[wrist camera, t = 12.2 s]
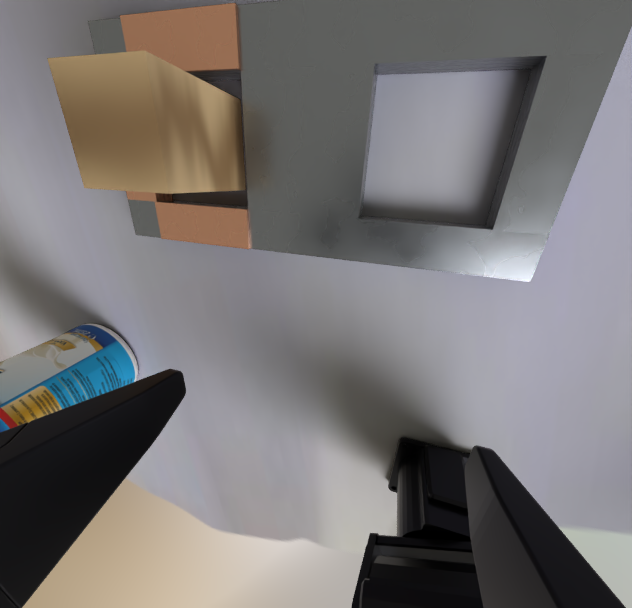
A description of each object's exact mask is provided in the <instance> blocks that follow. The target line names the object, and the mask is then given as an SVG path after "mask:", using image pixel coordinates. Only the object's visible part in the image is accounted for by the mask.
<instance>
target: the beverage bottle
mask: <svg viewBox="0 0 632 608" xmlns="http://www.w3.org/2000/svg"><path fill="white" fill-rule="evenodd" d="M137 376H138V365H137V361H136V358H135V356H134V354H133V352H132V350H131V349H130V347H129V346H128V345H127V344H126V342H125V341H124V340H123V339H122V338H121V337H120V336H119V335H117V334H116V333H115V332H113V331H112V330H110V329H108V328H106V327H104V326H101V325H98V324H83V325H80V326H78V327H76V328H74V329H71V330H70V331H68V332H66V333H64V334H62V335H60V336H58V337H56V338H54V339H52V340H50V341H47V342H45V343H43V344H41V345H38V346H36V347H34V348H31V349H29V350H27V351H25V352H22V353H20V354H18V355H16V356H13V357H11V358H9V359H6V360H4V361H2V362H0V432H3V431H5V430H8V429H11V428H13V427H16V426H19V425H21V424H24V423H29V422H30V421H32V420H35V419H37V418H40V417H43V416H45V415H48V414H51V413H53V412H56V411H59V410H61V409H64V408H67V407H69V406H72V405H75V404H77V403H80V402H83V401H85V400H88V399H91V398H93V397H96V396H99V395H101V394H104V393H107V392H109V391H112V390H115V389H117V388H120V387H123V386H125V385H128V384H131V383H133V382H135V381H136V379H137Z"/></svg>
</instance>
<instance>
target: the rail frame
mask: <svg viewBox="0 0 632 608" xmlns="http://www.w3.org/2000/svg"><path fill="white" fill-rule="evenodd" d="M88 23H89V28H90V32H91V37H92V41H93V46H94V50H95V54H108V53H121V52H133V51H147V52H149V53H151V54H153V55H155V56H157V57H158V58H160V59H162V60H164V61H166V62H168V63H170V64H172V65H174V66H176V67H178V68H180V69H182V70H184V71H186V72H187V73H189V74H191V75H193V76H195V77H197V78H199V79H201V80H203V81H222V80H241V84H242V103H243V122H244V141H245V159H246V178H247V197H248V207H246V206H234V205H222V204H209V203H197V202H185V201H173V199H172V194H166V193H151V192H136V191H126V193H127V197H128V202H129V206H130V211H131V215H132V220H133V224H134V229H135V233H136V235H142V236H150V237H158V238H161V239H169V240H177V241H186V242H194V243H202V244H210V245H219V246H227V247H235V248H244V249H259V250H267V251H275V252H284V253H292V254H300V255H309V256H317V257H325V258H334V259H342V260H350V261H359V262H367V263H375V264H384V265H392V266H401V267H409V268H417V269H426V270H434V271H442V272H451V273H459V274H467V275H476V276H484V277H492V278H501V279H509V280H517V281H526V282H530V281H531V279H532V276H533V274H534V271H535V269H536V266H537V264H538V261H539V259H540V256H541V254H542V251H543V249H544V246H545V244H546V241H547V239H548V236H549V234H550V231H551V228H552V226H553V223H554V221H555V218H556V216H557V213H558V211H559V208H560V206H561V203H562V201H563V198H564V196H565V193H566V191H567V188H568V186H569V183H570V181H571V178H572V175H573V173H574V170H575V168H576V165H577V163H578V160H579V158H580V155H581V153H582V150H583V148H584V145H585V143H586V140H587V138H588V135H589V133H590V130H591V128H592V125H593V122H594V120H595V117H596V115H597V112H598V110H599V107H600V105H601V102H602V100H603V97H604V95H605V92H606V90H607V87H608V85H609V82H610V80H611V77H612V75H613V72H614V69H615V67H616V64H617V62H618V59H619V57H620V54H621V52H622V49H623V47H624V44H625V42H626V39H627V37H628V34H629V32H630V29H631V27H632V0H282V1H272V2H263V3H254V4H244V5H237V4H236V3H230V4H220V5H211V6H202V7H193V8H184V9H175V10H166V11H157V12H148V13H138V14H129V15H120V18H114V19H105V20H95V21H88ZM519 69H532V70H531V73H530V77H529V80H528V83H527V87H526V90H525V93H524V97H523V100H522V104H521V107H520V110H519V114H518V117H517V120H516V124H515V127H514V131H513V134H512V137H511V141H510V144H509V147H508V151H507V154H506V158H505V161H504V164H503V168H502V171H501V174H500V178H499V181H498V185H497V188H496V191H495V195H494V198H493V201H492V205H491V208H490V211H489V215H488V218H487V222H486V225H485V226H481V225H468V224H456V223H444V222H431V221H419V220H407V219H394V218H382V217H370V216H361V215H362V206H363V197H364V188H365V179H366V170H367V161H368V152H369V143H370V134H371V126H372V117H373V108H374V99H375V90H376V81H377V75H384V74H411V73H438V72H465V71H492V70H519Z"/></svg>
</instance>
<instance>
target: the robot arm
mask: <svg viewBox="0 0 632 608" xmlns="http://www.w3.org/2000/svg"><path fill="white" fill-rule="evenodd" d="M185 393H186V387H185V382H184V377H183V373H182V372H181V371H178V370H174V369H168V370H165V371H162V372H160V373H157V374H155V375H152V376H149V377H147V378H144V379H141V380H139V381H136V382H133V383H131V384H128V385H125V386H123V387H120V388H117V389H115V390H112V391H109V392H107V393H104V394H101V395H99V396H96V397H93V398H91V399H88V400H85V401H83V402H80V403H77V404H75V405H72V406H69V407H67V408H64V409H61V410H59V411H56V412H53V413H51V414H48V415H45V416H43V417H40V418H37V419H35V420H32V421H30V422H29V423H24V424H21V425H19V426H16V427H13V428H11V429H8V430H5V431H3V432H0V608H22V607H23V606H24V605H25V603H26V602H27V601H28V599H29V598H30V597H31V596H32V595H33V593H34V592H35V591H36V590H37V588H38V587H39V586H40V584H41V583H42V582H43V581H44V579H45V578H46V577H47V575H48V574H49V573H50V572H51V571H52V569H53V568H54V567H55V566H56V564H57V563H58V562H59V560H60V559H61V558H62V557H63V555H64V554H65V553H66V552H67V551H68V549H69V548H70V547H71V546H72V544H73V543H74V542H75V541H76V539H77V538H78V537H79V535H80V534H81V533H82V532H83V530H84V529H85V528H86V527H87V525H88V524H89V523H90V522H91V520H92V519H93V518H94V517H95V515H96V514H97V513H98V512H99V510H100V509H101V508H102V506H103V505H104V504H105V503H106V502H107V500H108V499H109V498H110V496H111V495H112V494H113V493H114V491H115V490H116V489H117V488H118V486H119V485H120V484H121V483H122V481H123V480H124V479H125V478H126V476H127V475H128V474H129V473H130V471H131V470H132V469H133V468H134V466H135V465H136V464H137V463H138V461H139V460H140V459H141V458H142V456H143V455H144V454H145V453H146V451H147V450H148V449H149V448H150V446H151V445H152V444H153V442H154V441H155V440H156V438H157V437H158V436H159V434H160V433H161V431H162V430H163V428H164V427H165V425H166V424H167V422H168V421H169V419H170V418H171V416H172V415H173V413H174V412H175V410H176V409H177V407H178V406H179V404H180V403H181V401H182V400H183V398H184V396H185ZM388 488H389V489H390V490H391V491H393V492H396V493H397V536H385V535H378V533H370V536H369V540H368V544H367V546H366V549H365V553H364V557H363V562H362V565H361V570H360V574H359V578H358V581H357V586H356V590H355V594H354V598H353V602H352V608H626V607H625V606H624V605H623V604H622V603H621V601H620V600H619V599H618V598H617V597H616V596H615V594H614V593H613V592H612V591H611V589H610V588H609V587H608V586H607V585H606V584H605V582H604V581H603V580H602V579H601V578H600V576H599V575H598V574H597V573H596V572H595V570H593V568H592V567H591V566H590V564H589V563H588V562H587V561H586V560H585V559H584V557H583V556H582V555H581V554H580V553H579V551H578V550H577V549H576V548H575V547H574V545H573V544H572V543H571V542H570V541H569V540H568V538H567V537H566V536H565V535H564V534H563V532H562V531H561V530H560V529H559V528H558V526H557V525H556V524H555V523H554V522H553V520H552V519H551V518H550V517H549V516H548V515H547V513H546V512H545V511H544V510H543V509H542V507H541V506H540V505H539V504H538V503H537V501H536V500H535V499H534V498H533V497H532V495H531V494H530V493H529V492H528V491H527V490H526V488H525V487H524V486H523V485H522V484H521V482H520V481H519V480H518V479H517V478H516V476H515V475H514V474H513V473H512V472H511V471H510V469H509V468H508V467H507V466H506V465H505V463H504V462H503V461H502V460H501V459H500V457H499V456H498V455H497V454H496V453H495V452H494V451H493V450H492V449H489V448H485V447H481V446H474V447H473V449H472V451H471V453H470V454H466V453H462V452H458V451H455V450H451V449H447V448H443V447H439V446H435V445H431V444H427V443H424V442H420V441H416V440H412V439H408V438H401V439H399V442H398V446H397V450H396V454H395V458H394V462H393V466H392V470H391V474H390V478H389V484H388Z"/></svg>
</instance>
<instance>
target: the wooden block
mask: <svg viewBox="0 0 632 608" xmlns="http://www.w3.org/2000/svg"><path fill="white" fill-rule="evenodd" d="M47 59H48V62H49V66H50V69H51V73H52V76H53V80H54V83H55V87H56V90H57V94H58V97H59V101H60V104H61V108H62V111H63V114H64V118H65V121H66V125H67V128H68V132H69V135H70V139H71V142H72V146H73V149H74V153H75V156H76V160H77V163H78V167H79V170H80V174H81V177H82V181H83V184H84V188H91V189H106V190H121V191H136V192H151V193H166V194H174V193H195V192H217V191H238V190H246V181H245V164H244V147H243V131H242V114H241V100H240V99H238V98H236V97H234V96H232V95H230V94H228V93H226V92H224V91H222V90H220V89H218V88H216V87H215V86H213V85H211V84H209V83H207V82H205V81H203V80H201V79H199V78H197V77H195V76H193V75H191V74H189V73H187V72H186V71H184V70H182V69H180V68H178V67H176V66H174V65H172V64H170V63H168V62H166V61H164V60H162V59H160V58H158V57H157V56H155V55H153V54H151V53H149V52H147V51H133V52H121V53H108V54H95V55H83V56H70V57H58V58H47Z"/></svg>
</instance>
